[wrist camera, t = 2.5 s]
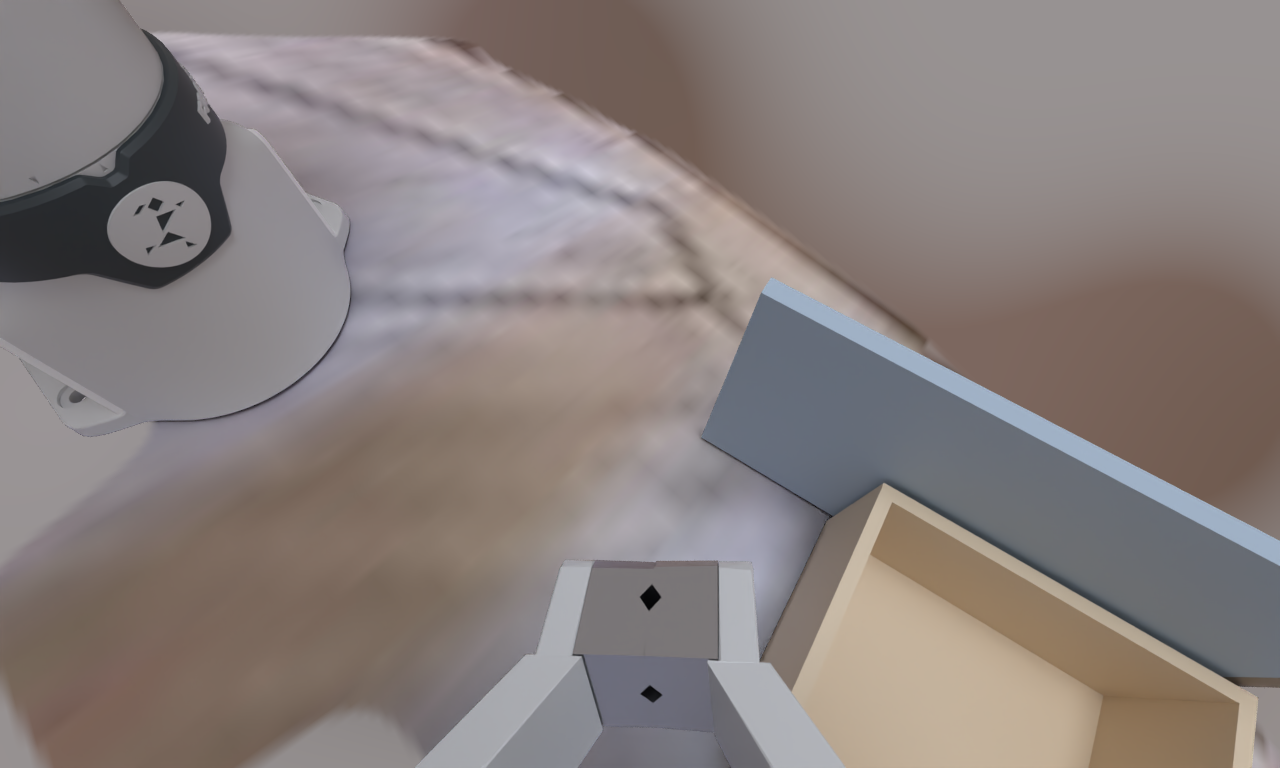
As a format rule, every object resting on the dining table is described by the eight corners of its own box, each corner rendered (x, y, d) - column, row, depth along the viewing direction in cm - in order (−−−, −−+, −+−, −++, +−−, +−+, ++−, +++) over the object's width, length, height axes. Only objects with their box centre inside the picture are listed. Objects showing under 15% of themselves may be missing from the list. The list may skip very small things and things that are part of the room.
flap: (700, 438, 32) (760, 294, 19) (709, 424, 32) (772, 275, 20) (1114, 687, 27) (1532, 702, 15) (1118, 667, 27) (1529, 667, 15)
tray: (719, 744, 25) (757, 769, 19) (826, 520, 30) (884, 482, 24) (1048, 981, 22) (1220, 1102, 16) (1108, 690, 27) (1257, 697, 21)
